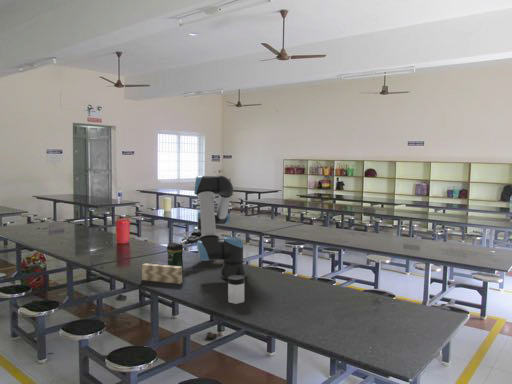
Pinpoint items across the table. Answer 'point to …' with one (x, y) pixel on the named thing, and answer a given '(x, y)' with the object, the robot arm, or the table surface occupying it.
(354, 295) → the table surface
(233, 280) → the jar
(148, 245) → the table surface
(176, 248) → the coffee jar
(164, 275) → the wooden block
